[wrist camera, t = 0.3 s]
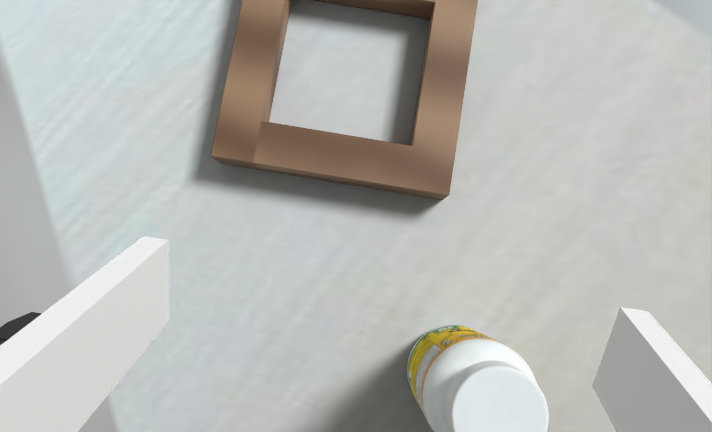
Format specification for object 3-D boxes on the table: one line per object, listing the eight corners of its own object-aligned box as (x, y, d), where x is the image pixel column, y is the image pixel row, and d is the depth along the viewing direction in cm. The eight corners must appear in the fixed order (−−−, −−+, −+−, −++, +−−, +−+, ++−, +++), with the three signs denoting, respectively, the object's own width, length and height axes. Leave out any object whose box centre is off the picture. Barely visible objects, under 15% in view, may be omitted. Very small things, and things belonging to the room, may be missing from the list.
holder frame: (442, 199, 31) (449, 194, 29) (219, 162, 31) (210, 155, 29) (474, -11, 32) (482, -30, 30) (261, -45, 32) (255, -66, 30)
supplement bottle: (391, 390, 29) (410, 448, 20) (429, 307, 30) (466, 325, 20) (474, 431, 29) (533, 510, 20) (510, 347, 30) (586, 384, 20)
